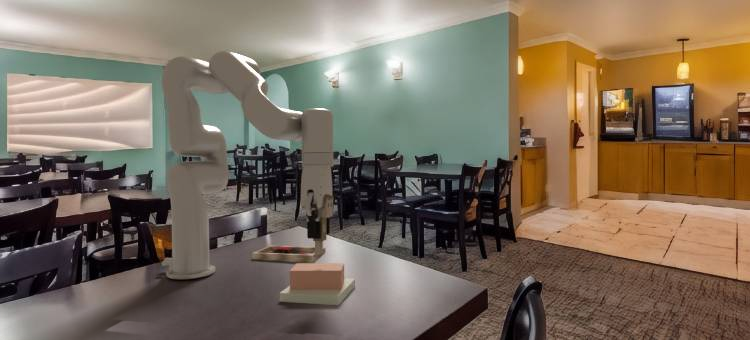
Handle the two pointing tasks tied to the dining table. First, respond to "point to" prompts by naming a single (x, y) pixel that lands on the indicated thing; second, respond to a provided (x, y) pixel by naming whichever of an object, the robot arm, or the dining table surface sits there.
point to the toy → (323, 222)
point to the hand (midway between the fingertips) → (318, 235)
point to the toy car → (287, 250)
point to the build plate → (318, 294)
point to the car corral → (304, 258)
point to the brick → (317, 276)
